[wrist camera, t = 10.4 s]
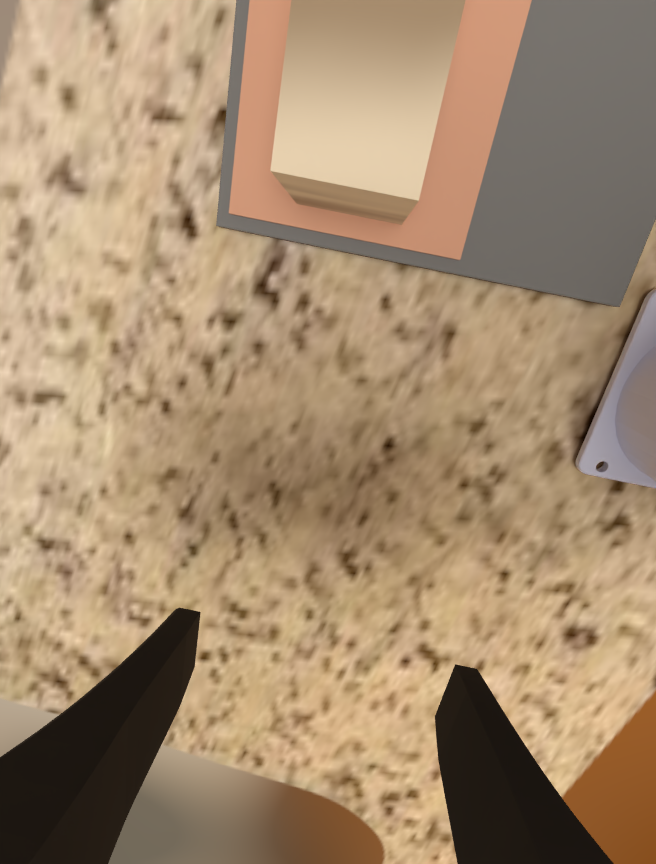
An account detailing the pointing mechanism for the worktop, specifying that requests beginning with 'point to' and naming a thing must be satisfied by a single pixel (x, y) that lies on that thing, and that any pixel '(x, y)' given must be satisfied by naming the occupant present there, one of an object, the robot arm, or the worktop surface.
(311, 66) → the birch block
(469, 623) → the worktop surface
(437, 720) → the robot arm
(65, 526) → the worktop surface
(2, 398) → the worktop surface
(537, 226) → the rubber mat
